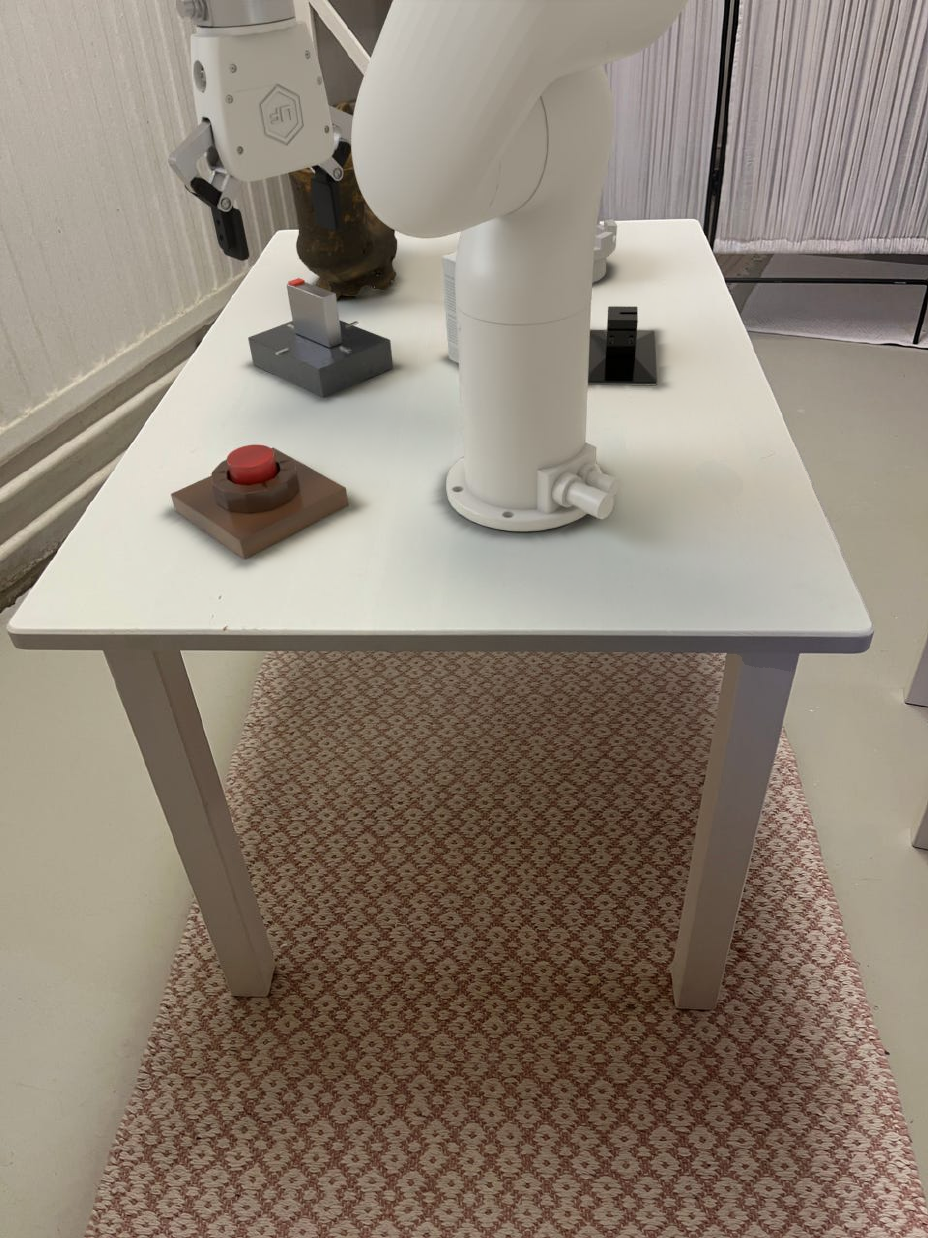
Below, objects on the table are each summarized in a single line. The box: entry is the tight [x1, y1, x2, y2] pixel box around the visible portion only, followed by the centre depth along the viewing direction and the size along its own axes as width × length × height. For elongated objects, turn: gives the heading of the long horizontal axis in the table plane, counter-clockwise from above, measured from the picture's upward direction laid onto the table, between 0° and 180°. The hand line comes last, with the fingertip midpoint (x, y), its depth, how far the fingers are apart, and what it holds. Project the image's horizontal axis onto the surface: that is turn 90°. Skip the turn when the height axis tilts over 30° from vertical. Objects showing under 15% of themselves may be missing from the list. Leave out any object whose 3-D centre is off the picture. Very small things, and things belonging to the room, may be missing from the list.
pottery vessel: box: [287, 101, 398, 300], centre depth 108 cm, size 25×11×20 cm, turn 176°
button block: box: [170, 447, 349, 560], centre depth 74 cm, size 10×10×4 cm
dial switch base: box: [247, 319, 394, 399], centre depth 94 cm, size 12×10×3 cm
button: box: [226, 444, 277, 485], centre depth 72 cm, size 4×4×2 cm
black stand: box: [588, 305, 658, 386], centre depth 92 cm, size 12×7×5 cm, turn 172°
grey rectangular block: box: [286, 277, 342, 348], centre depth 92 cm, size 6×2×5 cm, turn 44°
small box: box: [441, 251, 459, 365], centre depth 92 cm, size 8×6×10 cm
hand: (284, 242), depth 80 cm, fingers open, 9 cm apart
